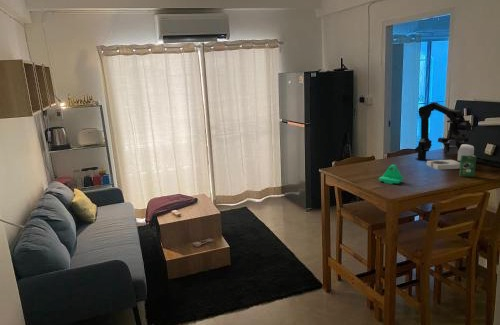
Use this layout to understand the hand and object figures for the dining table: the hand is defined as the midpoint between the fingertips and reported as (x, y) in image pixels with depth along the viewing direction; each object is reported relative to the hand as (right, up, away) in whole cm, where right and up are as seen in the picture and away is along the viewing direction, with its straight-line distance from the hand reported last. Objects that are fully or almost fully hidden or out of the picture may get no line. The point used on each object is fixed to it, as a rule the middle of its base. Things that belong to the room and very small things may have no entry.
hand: (452, 152), depth 253 cm
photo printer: (+17, -6, +15) cm, 24 cm away
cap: (0, -1, 0) cm, 1 cm away
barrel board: (-4, -10, +2) cm, 11 cm away
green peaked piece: (-53, -19, -29) cm, 63 cm away
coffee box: (-4, -16, -23) cm, 28 cm away
